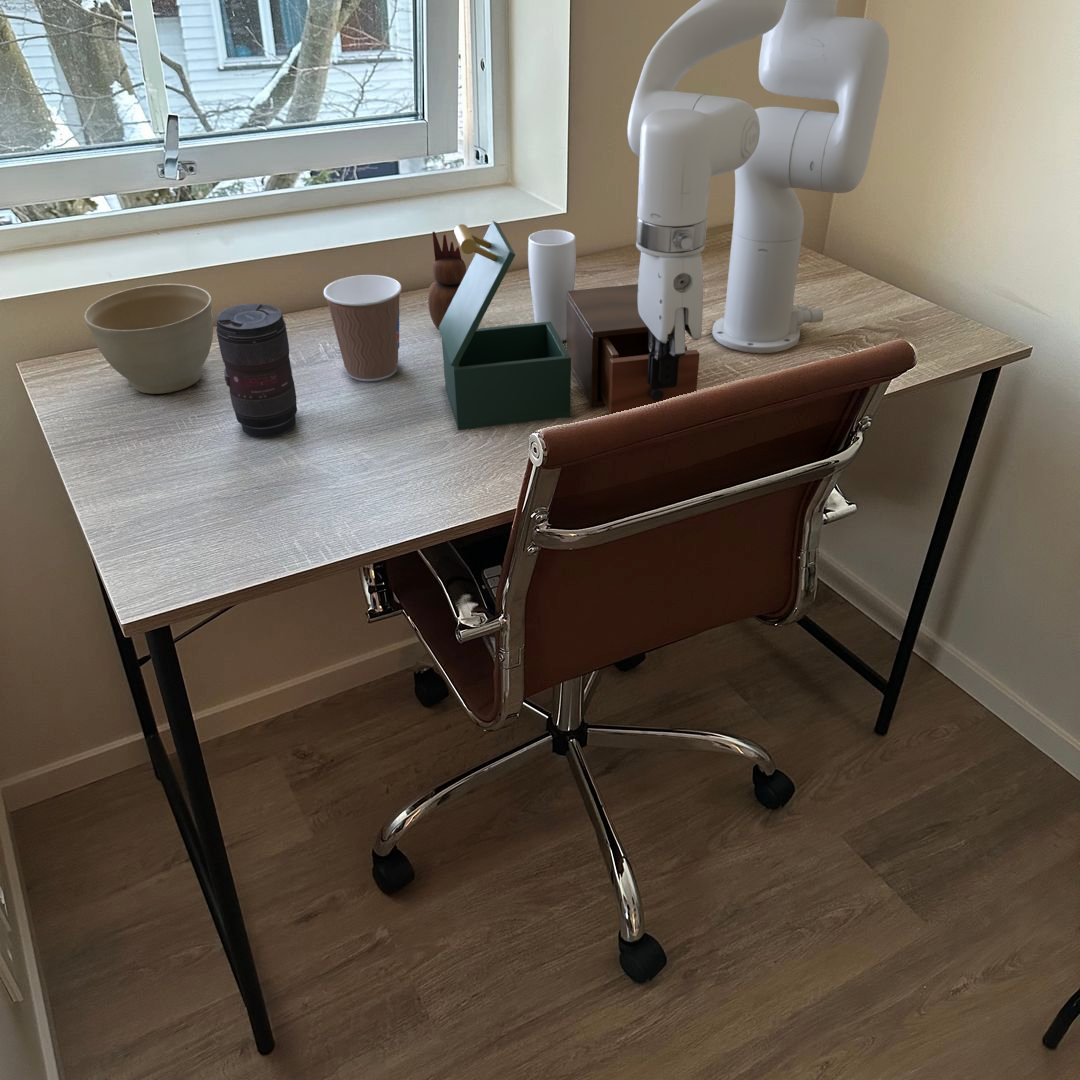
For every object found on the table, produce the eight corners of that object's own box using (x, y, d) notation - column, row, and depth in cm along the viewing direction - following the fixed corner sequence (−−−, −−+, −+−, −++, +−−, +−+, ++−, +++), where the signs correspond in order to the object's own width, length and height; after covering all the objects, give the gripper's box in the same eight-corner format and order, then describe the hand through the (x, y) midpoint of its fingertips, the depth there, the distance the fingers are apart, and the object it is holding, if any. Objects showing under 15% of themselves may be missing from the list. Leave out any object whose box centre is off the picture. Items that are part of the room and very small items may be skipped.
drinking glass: (571, 348, 148) (571, 246, 139) (525, 344, 149) (523, 243, 140) (579, 329, 153) (580, 230, 144) (535, 326, 154) (533, 227, 146)
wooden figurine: (424, 334, 152) (415, 235, 144) (441, 320, 157) (434, 222, 148) (465, 341, 150) (459, 240, 142) (481, 326, 155) (476, 227, 146)
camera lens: (270, 447, 125) (248, 334, 117) (223, 431, 129) (199, 319, 120) (315, 420, 131) (297, 310, 122) (269, 405, 134) (248, 297, 126)
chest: (551, 378, 140) (550, 321, 135) (570, 417, 131) (571, 357, 126) (445, 389, 138) (441, 332, 133) (458, 430, 128) (453, 370, 123)
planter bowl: (222, 348, 150) (207, 276, 143) (231, 395, 137) (214, 319, 131) (106, 364, 146) (85, 291, 139) (104, 415, 133) (81, 337, 127)
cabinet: (680, 398, 135) (685, 322, 128) (591, 408, 133) (592, 332, 126) (648, 353, 146) (652, 282, 140) (566, 362, 144) (566, 290, 138)
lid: (498, 223, 126) (459, 204, 124) (515, 254, 117) (474, 234, 115) (443, 330, 133) (405, 313, 130) (456, 368, 123) (416, 351, 121)
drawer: (697, 422, 127) (703, 357, 122) (613, 432, 125) (615, 367, 120) (662, 373, 139) (666, 312, 134) (584, 382, 137) (585, 320, 132)
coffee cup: (423, 373, 142) (415, 290, 135) (357, 394, 137) (346, 309, 130) (385, 348, 148) (376, 268, 142) (321, 368, 143) (309, 286, 137)
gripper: (728, 252, 106) (713, 410, 116) (681, 209, 118) (672, 355, 128) (659, 259, 104) (650, 418, 115) (618, 214, 116) (614, 362, 127)
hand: (662, 384), depth 122 cm, fingers closed
